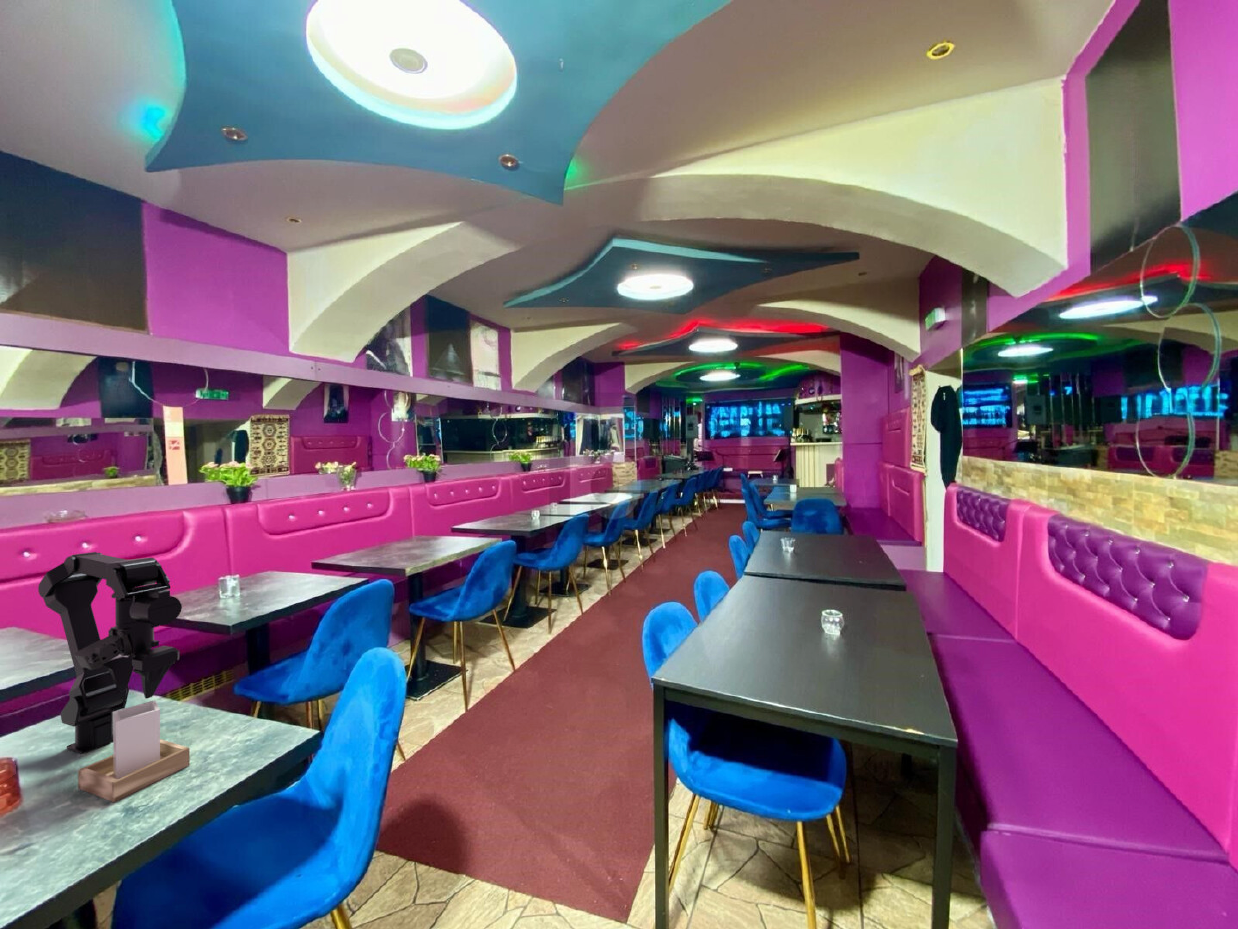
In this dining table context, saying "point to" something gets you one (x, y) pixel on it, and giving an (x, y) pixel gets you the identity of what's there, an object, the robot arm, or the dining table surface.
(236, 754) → the dining table surface
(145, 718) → the white square vase
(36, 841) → the dining table surface
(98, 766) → the tray
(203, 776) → the dining table surface
